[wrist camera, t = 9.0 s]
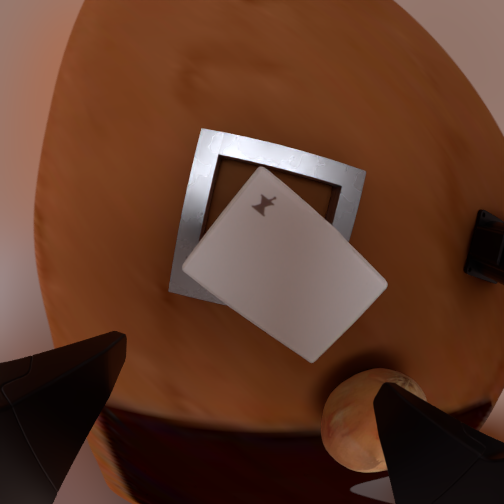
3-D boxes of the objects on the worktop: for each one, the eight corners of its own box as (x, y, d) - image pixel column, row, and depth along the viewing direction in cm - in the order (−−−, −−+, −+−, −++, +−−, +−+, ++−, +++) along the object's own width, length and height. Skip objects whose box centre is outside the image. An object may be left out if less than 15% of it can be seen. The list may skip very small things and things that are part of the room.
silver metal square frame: (355, 172, 20) (366, 171, 18) (316, 313, 22) (322, 324, 20) (206, 134, 19) (201, 128, 17) (175, 282, 21) (168, 291, 19)
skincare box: (216, 223, 20) (173, 267, 9) (254, 177, 20) (261, 158, 8) (279, 274, 21) (312, 369, 9) (317, 231, 20) (394, 282, 9)
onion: (412, 342, 23) (468, 403, 13) (386, 415, 25) (419, 477, 15) (320, 350, 23) (355, 434, 13) (305, 425, 25) (321, 502, 15)
